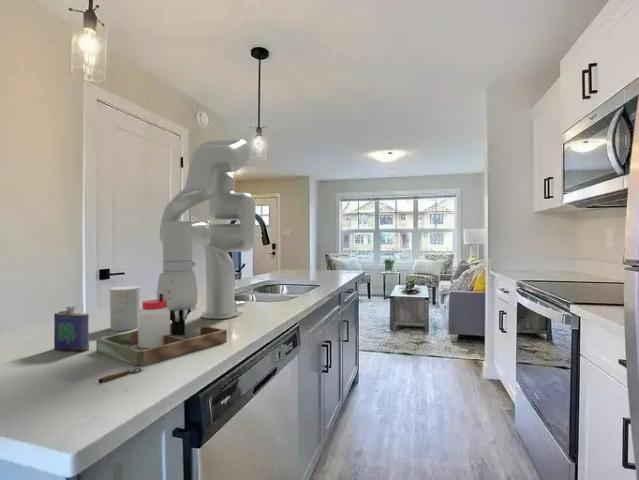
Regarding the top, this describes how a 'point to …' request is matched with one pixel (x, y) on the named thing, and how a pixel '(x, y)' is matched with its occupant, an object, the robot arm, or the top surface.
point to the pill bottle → (153, 323)
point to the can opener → (119, 375)
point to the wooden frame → (171, 346)
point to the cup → (124, 307)
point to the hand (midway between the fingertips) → (178, 334)
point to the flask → (71, 331)
